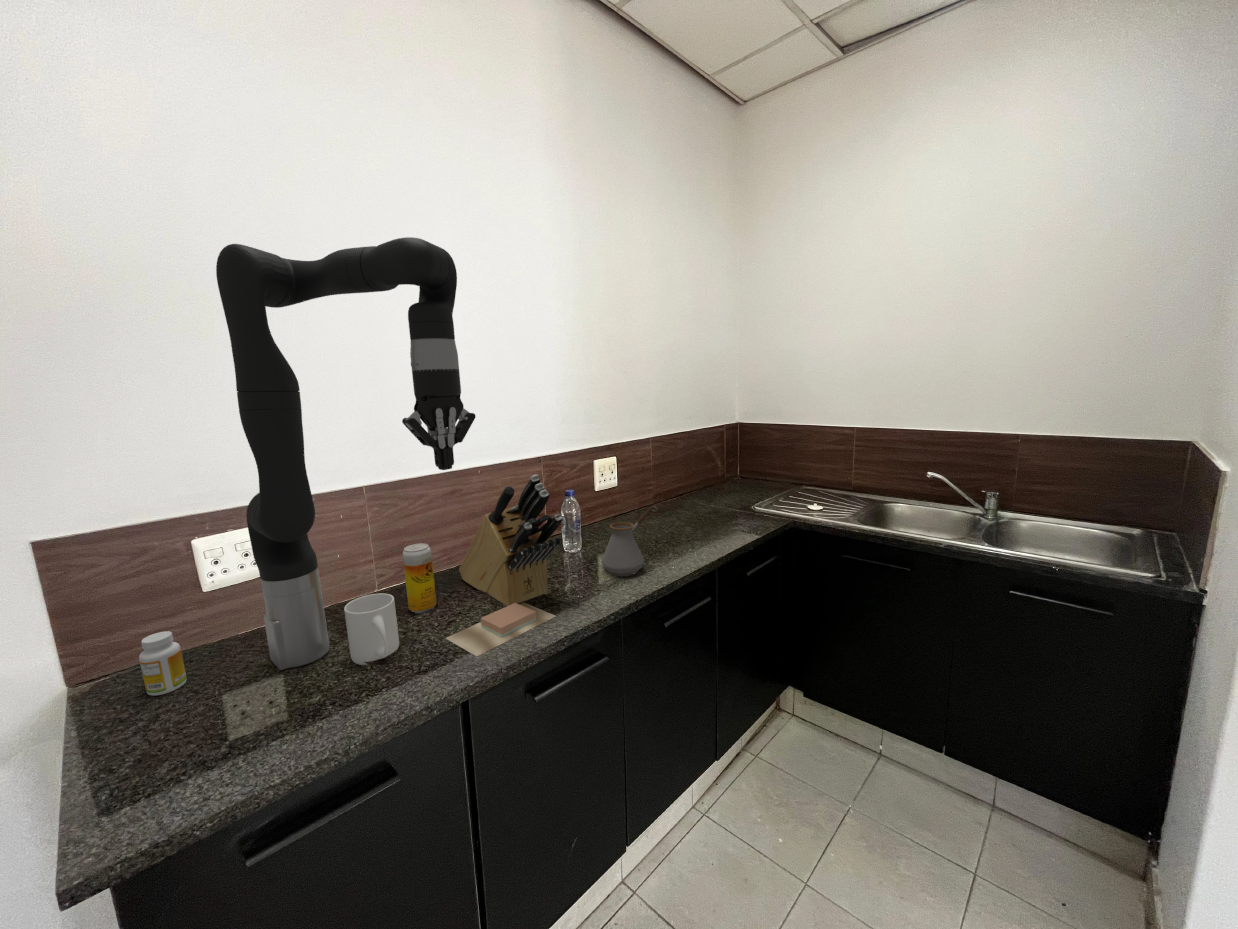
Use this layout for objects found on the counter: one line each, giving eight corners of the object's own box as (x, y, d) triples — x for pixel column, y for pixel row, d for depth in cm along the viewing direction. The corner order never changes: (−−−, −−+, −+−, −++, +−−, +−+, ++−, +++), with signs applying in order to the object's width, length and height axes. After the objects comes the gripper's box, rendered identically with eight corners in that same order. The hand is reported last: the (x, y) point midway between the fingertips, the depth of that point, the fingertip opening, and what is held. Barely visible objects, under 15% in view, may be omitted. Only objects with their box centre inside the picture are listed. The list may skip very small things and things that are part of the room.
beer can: (427, 615, 113) (420, 552, 110) (403, 613, 114) (396, 551, 111) (441, 603, 118) (435, 543, 116) (419, 602, 120) (412, 542, 117)
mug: (363, 680, 89) (355, 624, 87) (346, 654, 97) (339, 603, 96) (412, 661, 94) (406, 608, 92) (391, 638, 103) (386, 589, 101)
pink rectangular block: (500, 628, 99) (535, 611, 106) (480, 618, 104) (515, 602, 111) (501, 637, 100) (536, 620, 106) (481, 627, 104) (515, 611, 111)
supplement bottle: (183, 674, 92) (173, 626, 91) (190, 685, 89) (180, 634, 87) (144, 689, 88) (133, 638, 86) (149, 700, 85) (138, 648, 83)
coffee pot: (627, 583, 127) (625, 526, 124) (593, 573, 134) (590, 519, 131) (672, 557, 143) (671, 507, 141) (639, 550, 150) (638, 502, 148)
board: (477, 661, 93) (476, 656, 93) (445, 642, 100) (445, 638, 100) (556, 620, 108) (556, 616, 108) (524, 606, 115) (523, 602, 115)
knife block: (529, 626, 106) (519, 484, 101) (458, 580, 132) (447, 465, 127) (572, 608, 114) (565, 476, 108) (496, 568, 140) (488, 459, 134)
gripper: (408, 367, 76) (420, 478, 79) (482, 366, 86) (490, 465, 89) (386, 369, 81) (398, 473, 84) (458, 368, 91) (466, 461, 94)
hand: (445, 468), depth 87 cm, fingers closed
